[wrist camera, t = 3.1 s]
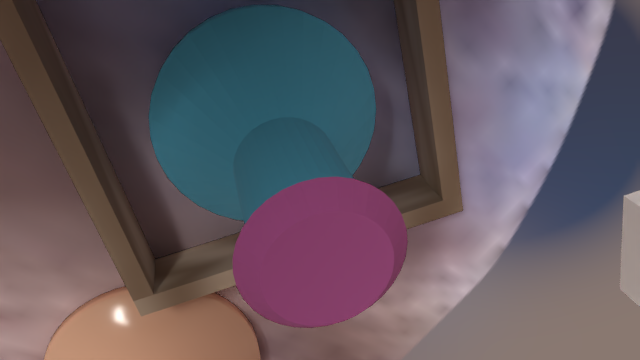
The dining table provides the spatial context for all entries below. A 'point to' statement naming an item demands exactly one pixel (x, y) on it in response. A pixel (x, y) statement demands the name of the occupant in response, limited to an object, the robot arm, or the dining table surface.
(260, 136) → the perfume bottle
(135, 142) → the dining table surface
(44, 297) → the dining table surface
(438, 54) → the frame
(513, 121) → the dining table surface
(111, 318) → the saucer
